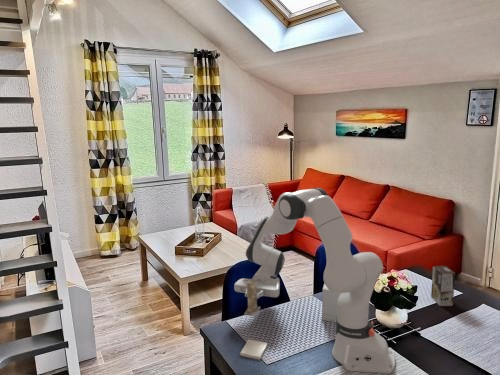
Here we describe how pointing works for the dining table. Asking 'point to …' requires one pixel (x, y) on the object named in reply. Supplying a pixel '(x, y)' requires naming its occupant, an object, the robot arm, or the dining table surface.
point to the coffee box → (443, 285)
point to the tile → (254, 349)
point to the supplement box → (329, 304)
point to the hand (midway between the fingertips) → (251, 296)
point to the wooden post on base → (252, 299)
